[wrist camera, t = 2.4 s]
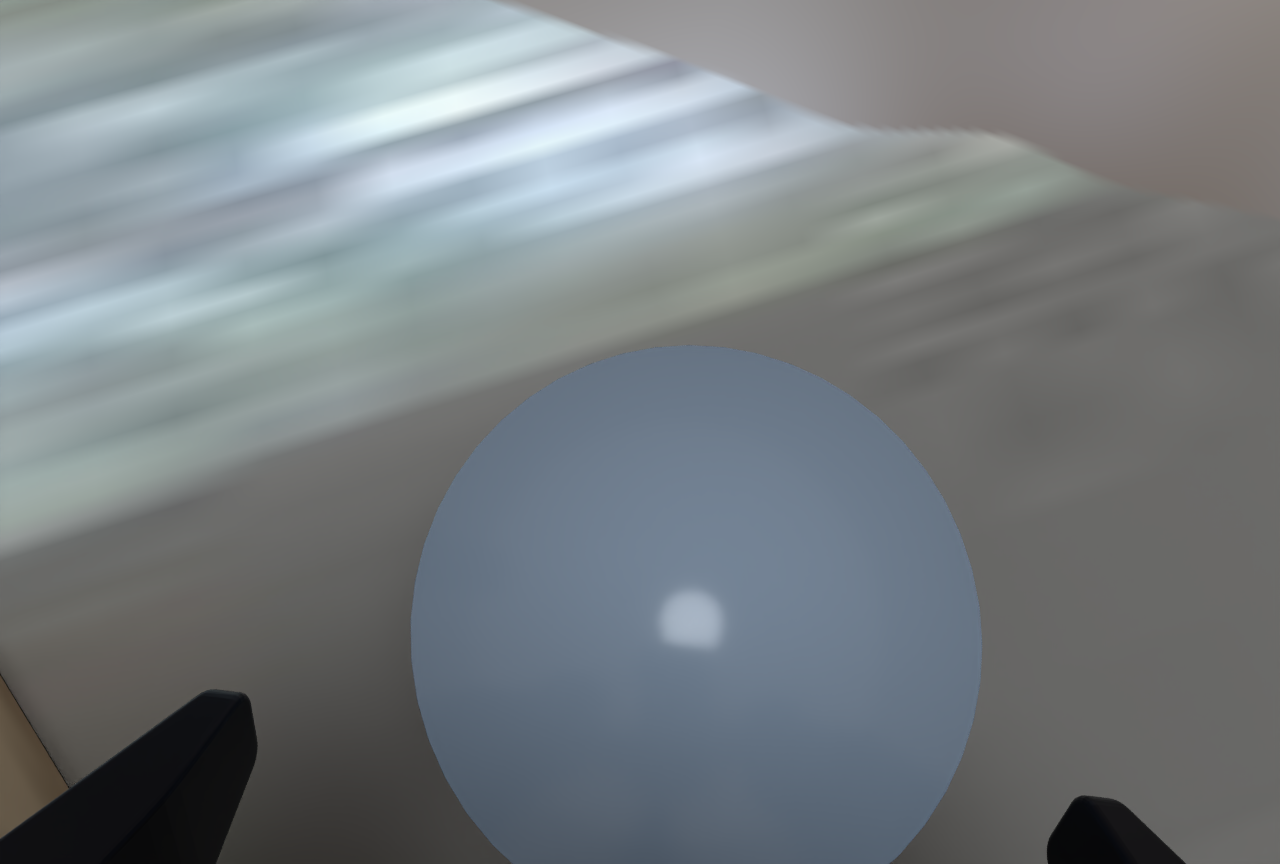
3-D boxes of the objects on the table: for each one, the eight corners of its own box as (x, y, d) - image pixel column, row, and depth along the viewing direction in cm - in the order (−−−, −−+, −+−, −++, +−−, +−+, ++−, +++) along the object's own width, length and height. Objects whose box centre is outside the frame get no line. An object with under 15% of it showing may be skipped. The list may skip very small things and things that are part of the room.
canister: (616, 811, 17) (663, 1092, 6) (471, 616, 18) (294, 568, 7) (794, 652, 18) (1095, 656, 7) (650, 476, 19) (730, 250, 8)
